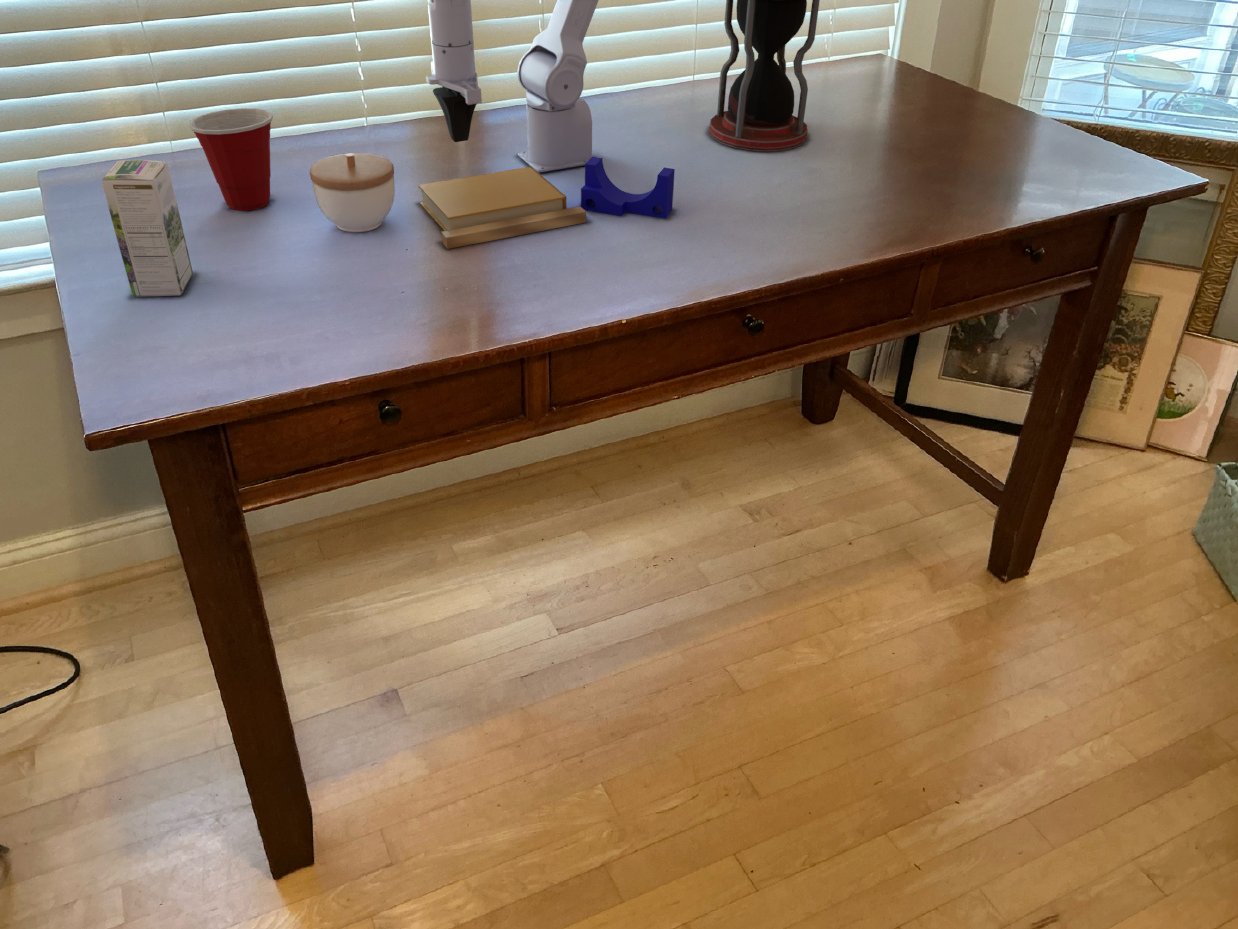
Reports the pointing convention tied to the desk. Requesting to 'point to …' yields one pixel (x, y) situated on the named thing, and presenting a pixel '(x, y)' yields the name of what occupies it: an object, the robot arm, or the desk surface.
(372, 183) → the trinket box
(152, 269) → the syrup box
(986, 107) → the desk surface
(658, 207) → the blue cradle bracket
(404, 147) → the desk surface
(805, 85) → the hourglass
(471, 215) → the book
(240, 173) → the plastic cup
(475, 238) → the rail
